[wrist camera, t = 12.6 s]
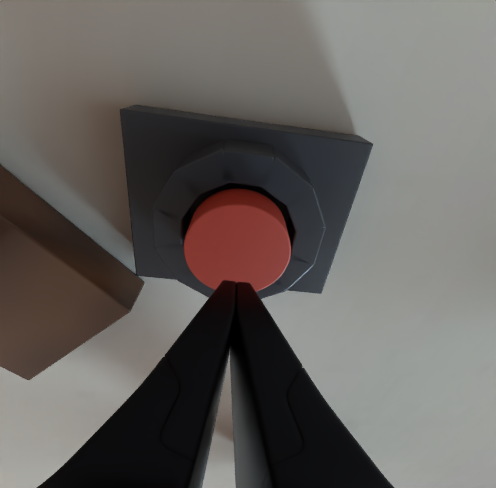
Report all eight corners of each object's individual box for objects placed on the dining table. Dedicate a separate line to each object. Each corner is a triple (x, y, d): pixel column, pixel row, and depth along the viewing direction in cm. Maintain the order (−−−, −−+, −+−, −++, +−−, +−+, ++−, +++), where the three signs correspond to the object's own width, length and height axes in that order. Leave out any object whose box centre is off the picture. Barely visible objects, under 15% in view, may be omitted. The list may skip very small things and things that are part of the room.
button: (295, 194, 11) (302, 211, 10) (276, 275, 13) (280, 299, 12) (191, 181, 11) (183, 197, 9) (189, 267, 13) (182, 289, 11)
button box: (359, 135, 13) (394, 154, 10) (315, 275, 17) (330, 318, 14) (134, 104, 12) (97, 114, 9) (145, 257, 16) (122, 299, 13)
